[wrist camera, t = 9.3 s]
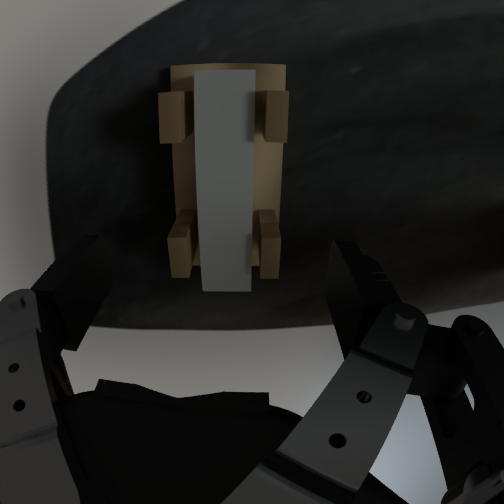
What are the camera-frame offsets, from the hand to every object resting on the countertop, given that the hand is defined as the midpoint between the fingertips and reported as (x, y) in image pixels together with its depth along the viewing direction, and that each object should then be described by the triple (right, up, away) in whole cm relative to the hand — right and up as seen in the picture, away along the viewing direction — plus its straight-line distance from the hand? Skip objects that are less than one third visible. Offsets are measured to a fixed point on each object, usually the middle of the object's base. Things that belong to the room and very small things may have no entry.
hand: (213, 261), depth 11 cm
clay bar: (0, +6, +12) cm, 14 cm away
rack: (0, +7, +13) cm, 15 cm away
